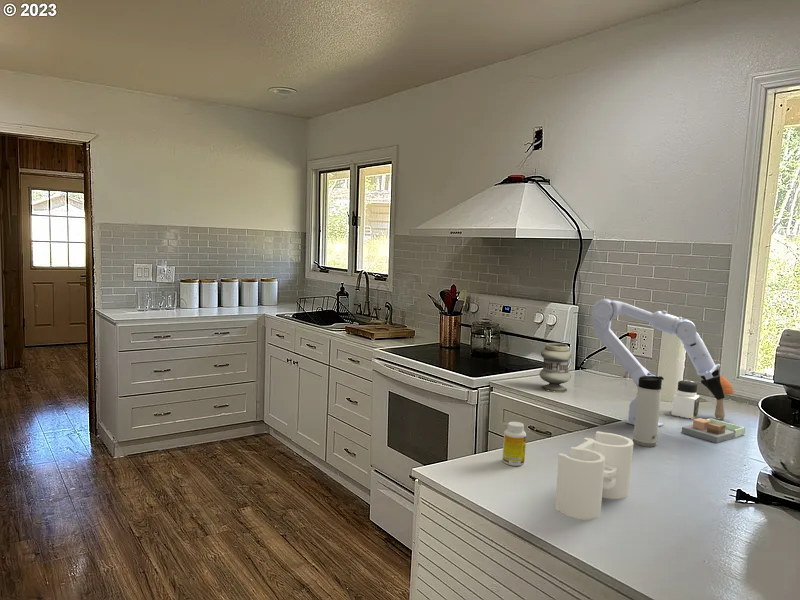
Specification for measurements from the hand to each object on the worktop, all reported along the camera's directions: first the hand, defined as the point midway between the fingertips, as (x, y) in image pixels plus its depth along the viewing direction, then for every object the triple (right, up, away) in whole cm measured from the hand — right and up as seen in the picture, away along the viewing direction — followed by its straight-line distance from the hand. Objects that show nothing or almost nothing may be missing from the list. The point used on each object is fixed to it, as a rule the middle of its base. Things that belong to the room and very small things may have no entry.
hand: (720, 396), depth 187 cm
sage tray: (+3, -12, +6) cm, 14 cm away
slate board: (-3, -12, +1) cm, 13 cm away
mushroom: (+10, -11, +21) cm, 26 cm away
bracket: (-56, -15, -52) cm, 78 cm away
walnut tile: (-2, -11, -2) cm, 11 cm away
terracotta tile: (-5, -10, +2) cm, 12 cm away
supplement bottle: (-70, -12, -32) cm, 78 cm away
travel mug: (-28, -12, -11) cm, 32 cm away
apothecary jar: (-38, -6, +52) cm, 65 cm away
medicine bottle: (0, -10, +23) cm, 25 cm away
